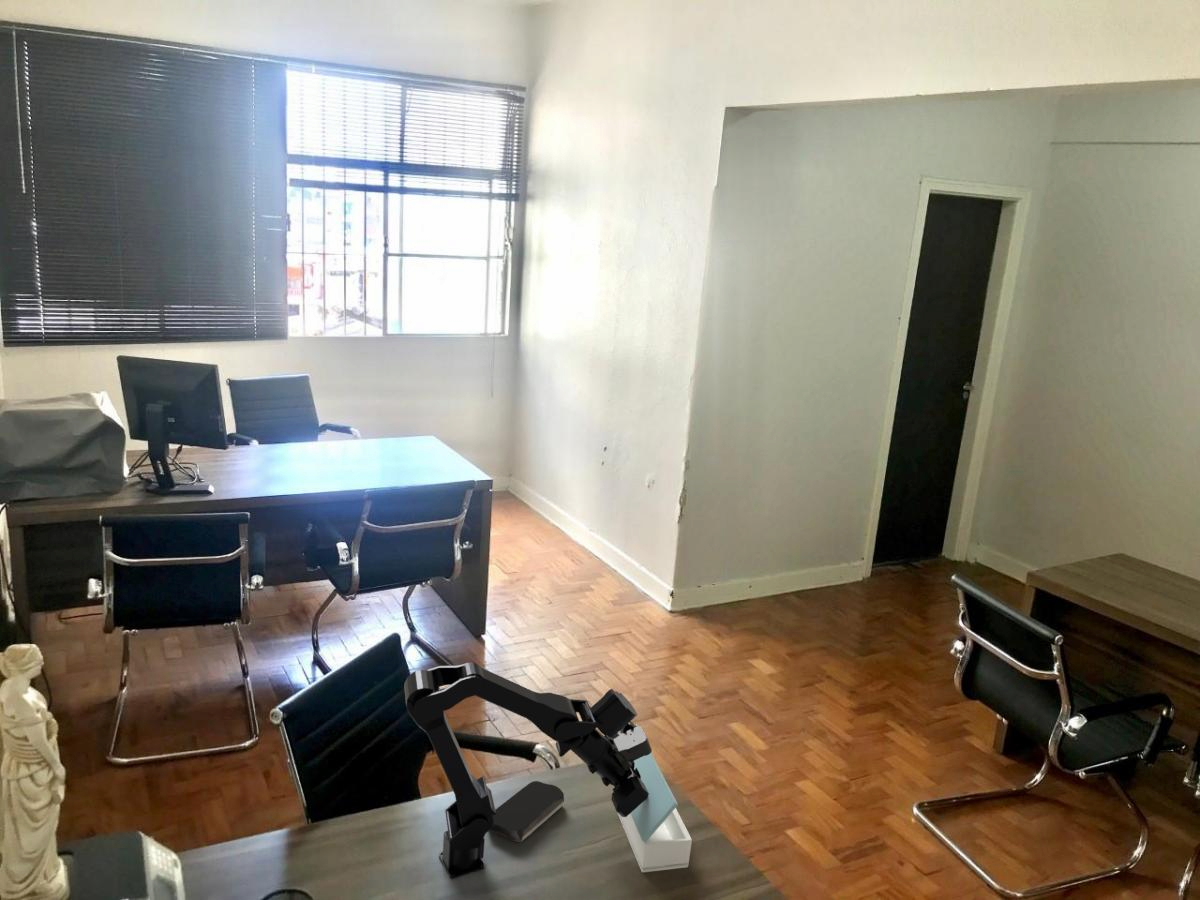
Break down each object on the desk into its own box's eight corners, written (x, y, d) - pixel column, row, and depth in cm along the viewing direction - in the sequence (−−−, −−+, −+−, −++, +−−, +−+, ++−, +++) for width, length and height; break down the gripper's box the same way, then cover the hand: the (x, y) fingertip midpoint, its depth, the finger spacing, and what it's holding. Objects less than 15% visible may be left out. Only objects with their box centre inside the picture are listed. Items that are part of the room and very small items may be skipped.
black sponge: (516, 851, 166) (517, 834, 165) (481, 831, 170) (482, 814, 169) (567, 807, 179) (568, 791, 178) (533, 790, 183) (535, 774, 182)
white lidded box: (642, 872, 163) (645, 844, 161) (615, 808, 180) (618, 782, 178) (688, 867, 165) (691, 839, 164) (657, 804, 182) (660, 778, 180)
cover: (645, 842, 161) (642, 840, 161) (618, 781, 178) (615, 779, 177) (678, 804, 161) (675, 802, 160) (648, 746, 177) (645, 744, 177)
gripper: (643, 750, 153) (695, 799, 159) (613, 692, 170) (662, 739, 176) (594, 793, 153) (648, 841, 159) (570, 731, 170) (620, 776, 176)
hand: (645, 796), depth 168 cm, fingers closed, pressing on cover
